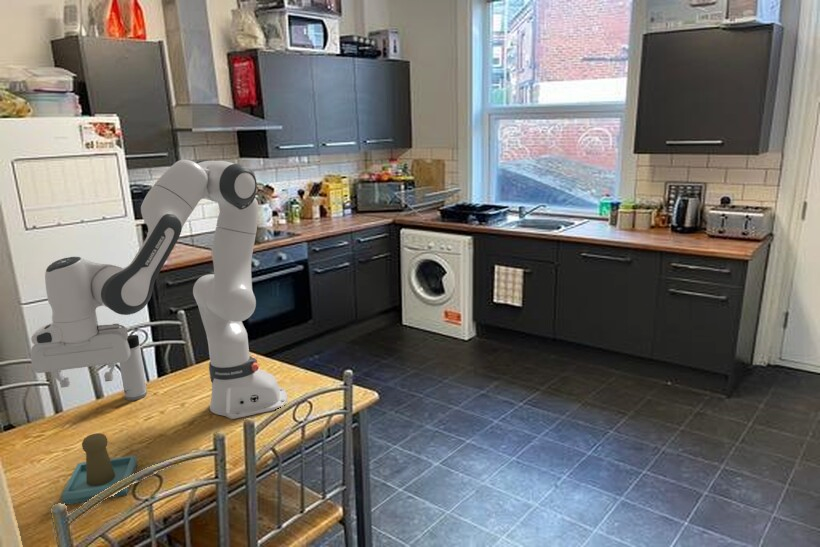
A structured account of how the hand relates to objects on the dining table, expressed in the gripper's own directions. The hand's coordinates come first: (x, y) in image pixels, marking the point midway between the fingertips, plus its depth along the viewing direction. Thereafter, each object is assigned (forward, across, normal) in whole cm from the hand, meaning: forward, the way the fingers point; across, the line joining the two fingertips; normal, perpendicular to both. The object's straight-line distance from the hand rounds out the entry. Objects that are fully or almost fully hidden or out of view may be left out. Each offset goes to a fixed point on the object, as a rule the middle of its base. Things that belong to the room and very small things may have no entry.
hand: (87, 383), depth 140 cm
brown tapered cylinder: (+22, -1, +7) cm, 23 cm away
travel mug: (+23, -1, -41) cm, 47 cm away
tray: (+23, -1, +7) cm, 24 cm away
